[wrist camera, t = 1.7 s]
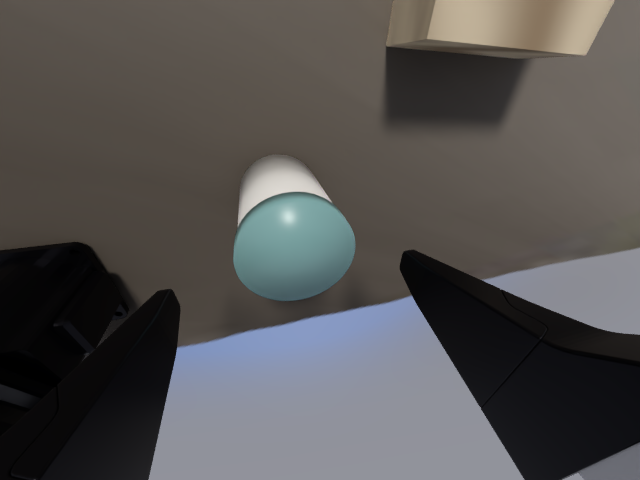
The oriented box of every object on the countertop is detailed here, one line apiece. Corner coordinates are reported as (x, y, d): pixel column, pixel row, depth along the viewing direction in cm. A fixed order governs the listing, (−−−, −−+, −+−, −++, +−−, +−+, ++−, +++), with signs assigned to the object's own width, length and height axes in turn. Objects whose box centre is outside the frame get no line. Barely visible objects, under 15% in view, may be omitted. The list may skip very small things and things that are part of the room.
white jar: (245, 231, 17) (245, 310, 11) (230, 155, 14) (220, 210, 8) (318, 222, 18) (350, 290, 12) (318, 149, 15) (360, 195, 9)
